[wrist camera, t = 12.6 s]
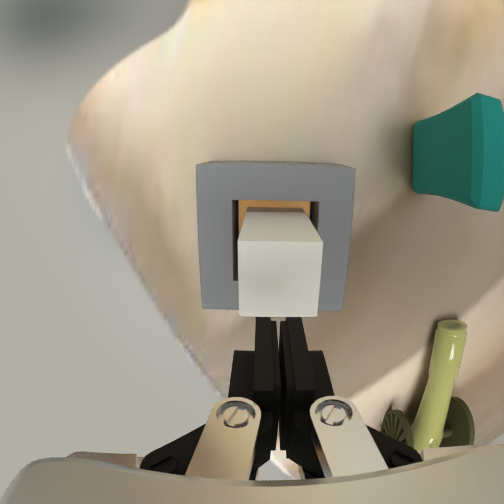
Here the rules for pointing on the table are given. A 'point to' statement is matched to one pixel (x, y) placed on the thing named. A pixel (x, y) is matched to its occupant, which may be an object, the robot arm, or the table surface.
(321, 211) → the socket
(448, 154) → the digital multimeter
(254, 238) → the plug
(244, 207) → the orange square tile
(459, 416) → the cannon
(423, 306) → the table surface
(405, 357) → the table surface
